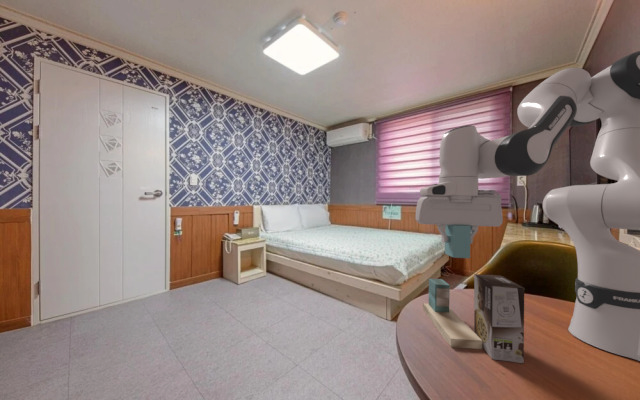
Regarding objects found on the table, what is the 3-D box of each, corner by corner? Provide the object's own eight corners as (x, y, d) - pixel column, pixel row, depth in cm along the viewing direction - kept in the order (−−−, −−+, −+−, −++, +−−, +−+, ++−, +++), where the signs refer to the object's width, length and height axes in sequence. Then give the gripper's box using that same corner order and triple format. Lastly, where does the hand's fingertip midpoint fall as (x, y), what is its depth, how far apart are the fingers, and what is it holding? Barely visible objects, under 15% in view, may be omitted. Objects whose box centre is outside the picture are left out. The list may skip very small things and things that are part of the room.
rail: (446, 310, 73) (446, 278, 74) (482, 349, 55) (482, 306, 55) (423, 309, 74) (423, 278, 74) (450, 347, 55) (451, 304, 55)
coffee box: (525, 364, 50) (526, 288, 50) (491, 359, 51) (492, 285, 51) (501, 339, 59) (502, 274, 59) (473, 336, 60) (473, 272, 60)
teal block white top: (459, 253, 64) (459, 224, 64) (470, 258, 58) (470, 226, 58) (443, 252, 64) (444, 223, 64) (452, 257, 59) (453, 225, 59)
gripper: (493, 190, 63) (492, 242, 63) (414, 189, 65) (413, 239, 65) (509, 189, 57) (508, 246, 57) (421, 188, 59) (420, 243, 59)
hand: (456, 242), depth 61 cm, fingers closed on teal block white top, 4 cm apart
